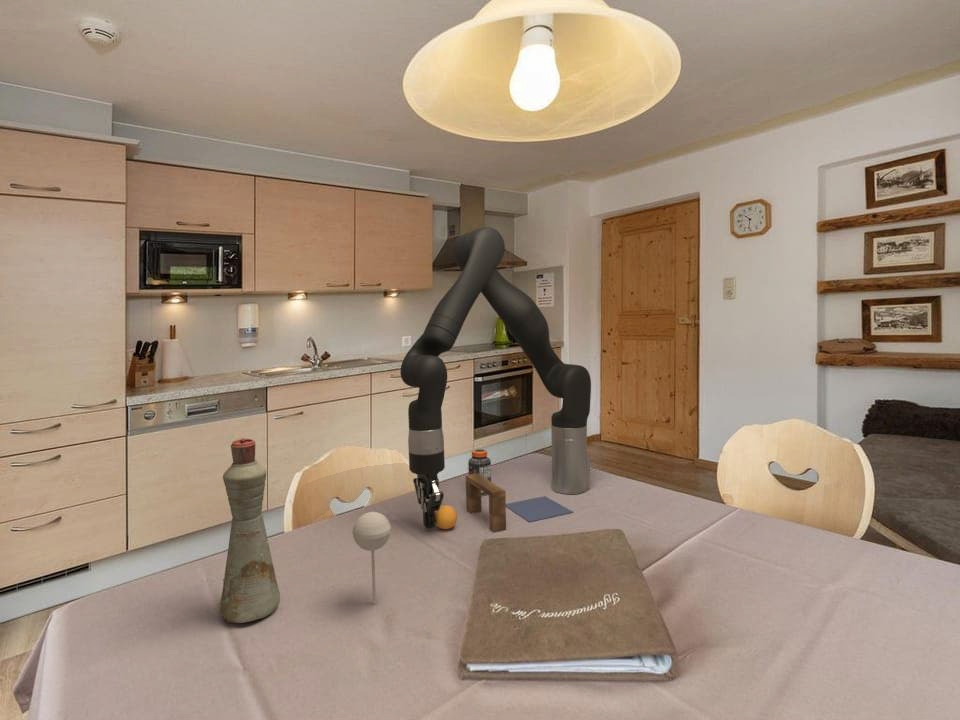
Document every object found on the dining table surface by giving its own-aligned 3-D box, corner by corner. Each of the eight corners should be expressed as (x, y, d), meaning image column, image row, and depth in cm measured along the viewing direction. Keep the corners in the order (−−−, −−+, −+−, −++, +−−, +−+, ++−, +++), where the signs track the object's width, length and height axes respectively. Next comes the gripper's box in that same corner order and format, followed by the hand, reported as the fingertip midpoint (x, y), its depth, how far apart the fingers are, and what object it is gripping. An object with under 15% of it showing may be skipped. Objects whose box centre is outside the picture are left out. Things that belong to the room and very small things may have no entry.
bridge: (477, 508, 122) (477, 473, 121) (506, 529, 110) (505, 490, 109) (466, 510, 121) (465, 475, 120) (493, 532, 108) (493, 492, 108)
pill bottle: (465, 490, 135) (464, 449, 134) (485, 487, 137) (484, 446, 136) (474, 497, 130) (473, 454, 129) (495, 494, 132) (494, 451, 131)
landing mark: (544, 496, 129) (544, 496, 129) (573, 512, 118) (573, 511, 118) (503, 505, 124) (503, 504, 124) (529, 522, 113) (529, 521, 113)
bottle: (218, 634, 75) (206, 447, 72) (222, 603, 83) (211, 434, 81) (281, 619, 78) (272, 440, 76) (279, 591, 86) (270, 428, 84)
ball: (426, 518, 112) (444, 527, 113) (434, 526, 107) (452, 536, 109) (438, 498, 112) (456, 508, 114) (447, 505, 108) (464, 516, 110)
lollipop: (401, 602, 82) (398, 512, 81) (370, 618, 78) (367, 523, 76) (378, 589, 86) (375, 503, 85) (348, 604, 82) (344, 513, 81)
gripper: (454, 453, 104) (457, 535, 105) (432, 439, 115) (434, 513, 117) (419, 458, 100) (423, 542, 102) (400, 444, 112) (403, 519, 114)
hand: (429, 527), depth 109 cm, fingers closed
